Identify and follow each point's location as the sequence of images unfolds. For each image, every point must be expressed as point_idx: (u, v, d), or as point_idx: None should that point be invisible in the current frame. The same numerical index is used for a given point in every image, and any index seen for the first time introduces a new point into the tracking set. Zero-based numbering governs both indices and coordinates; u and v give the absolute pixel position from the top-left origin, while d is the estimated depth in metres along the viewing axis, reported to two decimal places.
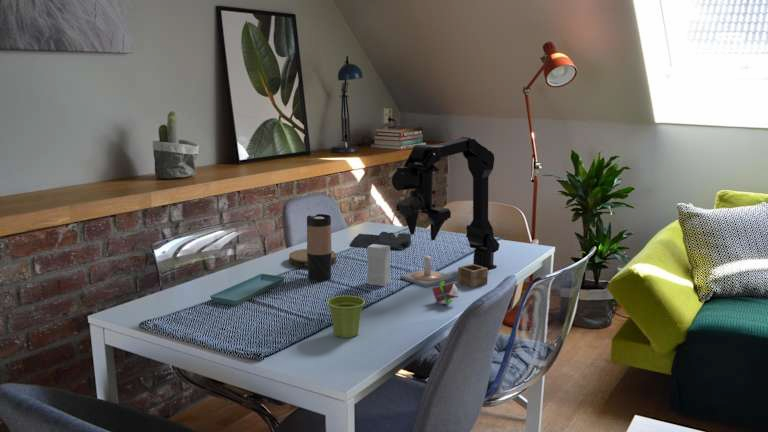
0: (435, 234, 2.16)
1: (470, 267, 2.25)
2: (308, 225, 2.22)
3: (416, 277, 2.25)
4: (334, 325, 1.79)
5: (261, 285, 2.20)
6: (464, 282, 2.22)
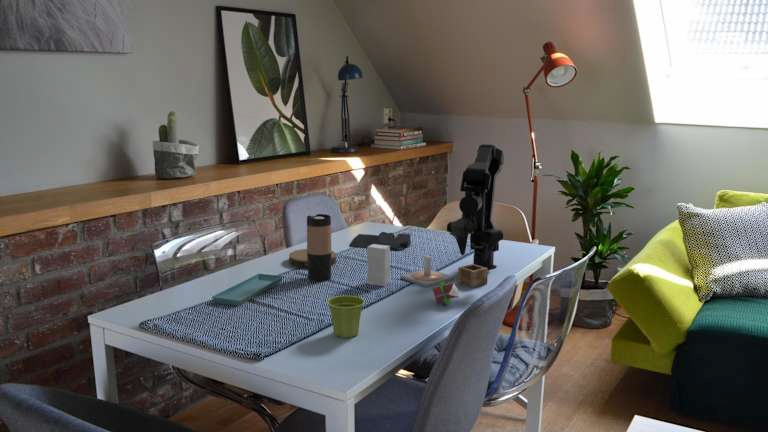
0: (487, 255, 2.18)
1: (470, 267, 2.25)
2: (308, 225, 2.22)
3: (416, 277, 2.25)
4: (334, 325, 1.79)
5: (260, 285, 2.20)
6: (464, 282, 2.22)
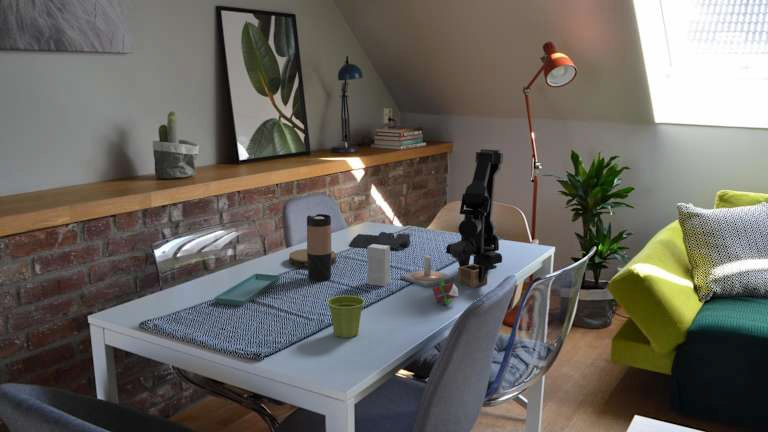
0: (483, 277, 2.20)
1: (470, 267, 2.25)
2: (308, 225, 2.22)
3: (416, 277, 2.25)
4: (334, 325, 1.79)
5: (258, 285, 2.20)
6: (464, 282, 2.22)
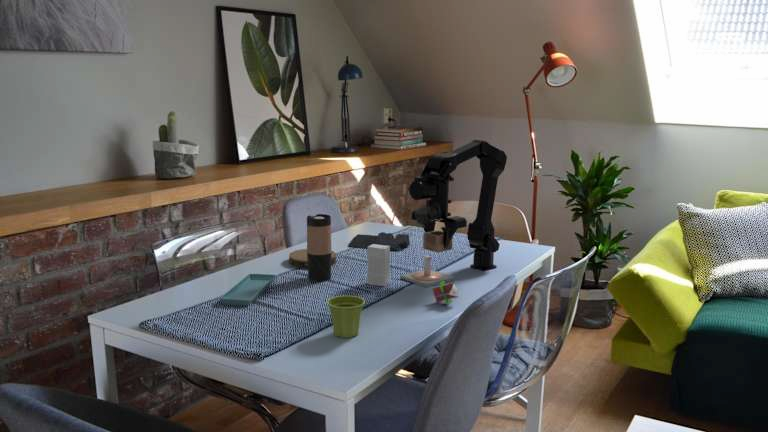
0: (448, 242, 2.21)
1: (435, 233, 2.26)
2: (308, 225, 2.22)
3: (416, 277, 2.25)
4: (334, 325, 1.79)
5: (256, 285, 2.20)
6: (429, 247, 2.22)
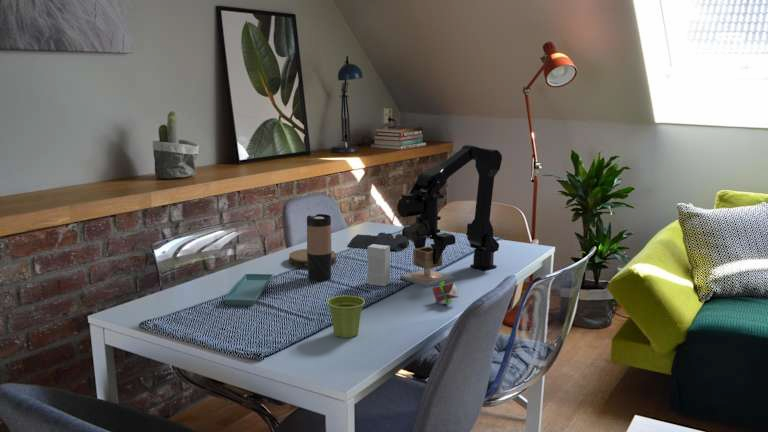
0: (437, 258, 2.23)
1: (425, 249, 2.28)
2: (308, 225, 2.22)
3: (416, 277, 2.25)
4: (334, 325, 1.79)
5: (254, 284, 2.20)
6: (419, 264, 2.25)
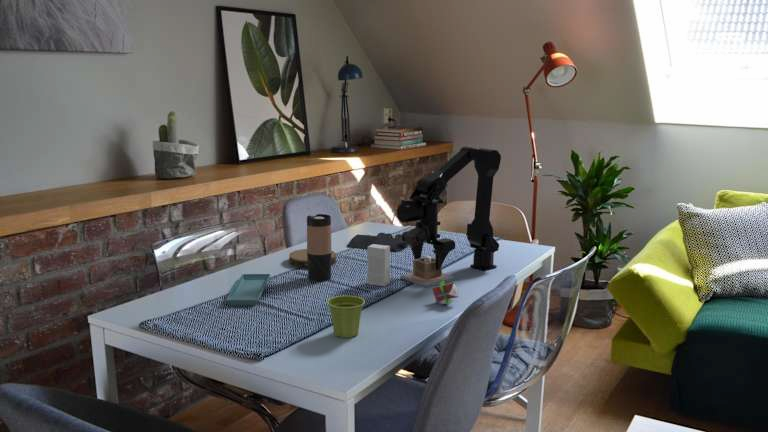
0: (440, 264, 2.23)
1: None
2: (308, 225, 2.22)
3: (416, 277, 2.25)
4: (334, 325, 1.79)
5: (253, 284, 2.20)
6: (418, 274, 2.26)
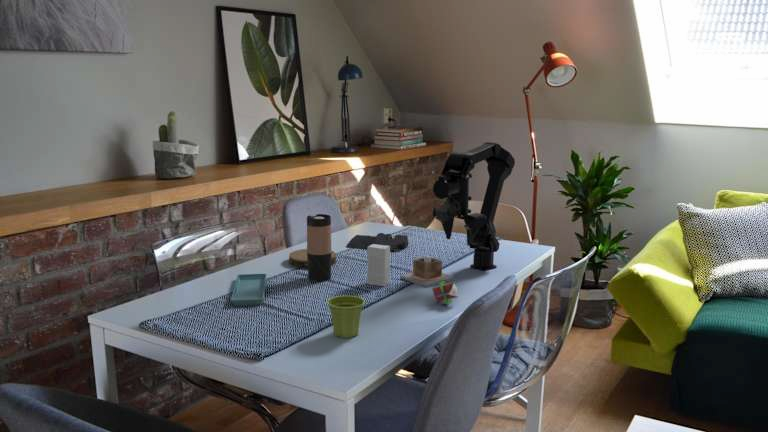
0: (471, 239, 2.23)
1: None
2: (308, 225, 2.22)
3: (416, 277, 2.25)
4: (334, 325, 1.79)
5: (250, 284, 2.20)
6: (418, 274, 2.26)
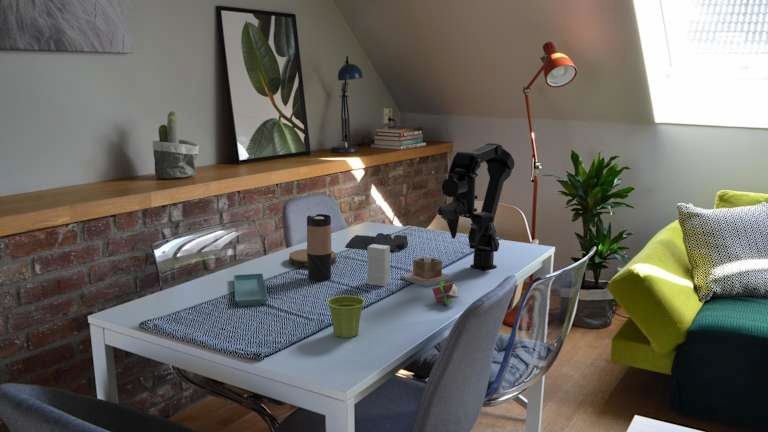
0: (477, 238, 2.23)
1: None
2: (308, 225, 2.22)
3: (416, 277, 2.25)
4: (334, 325, 1.79)
5: (248, 285, 2.20)
6: (418, 274, 2.26)
